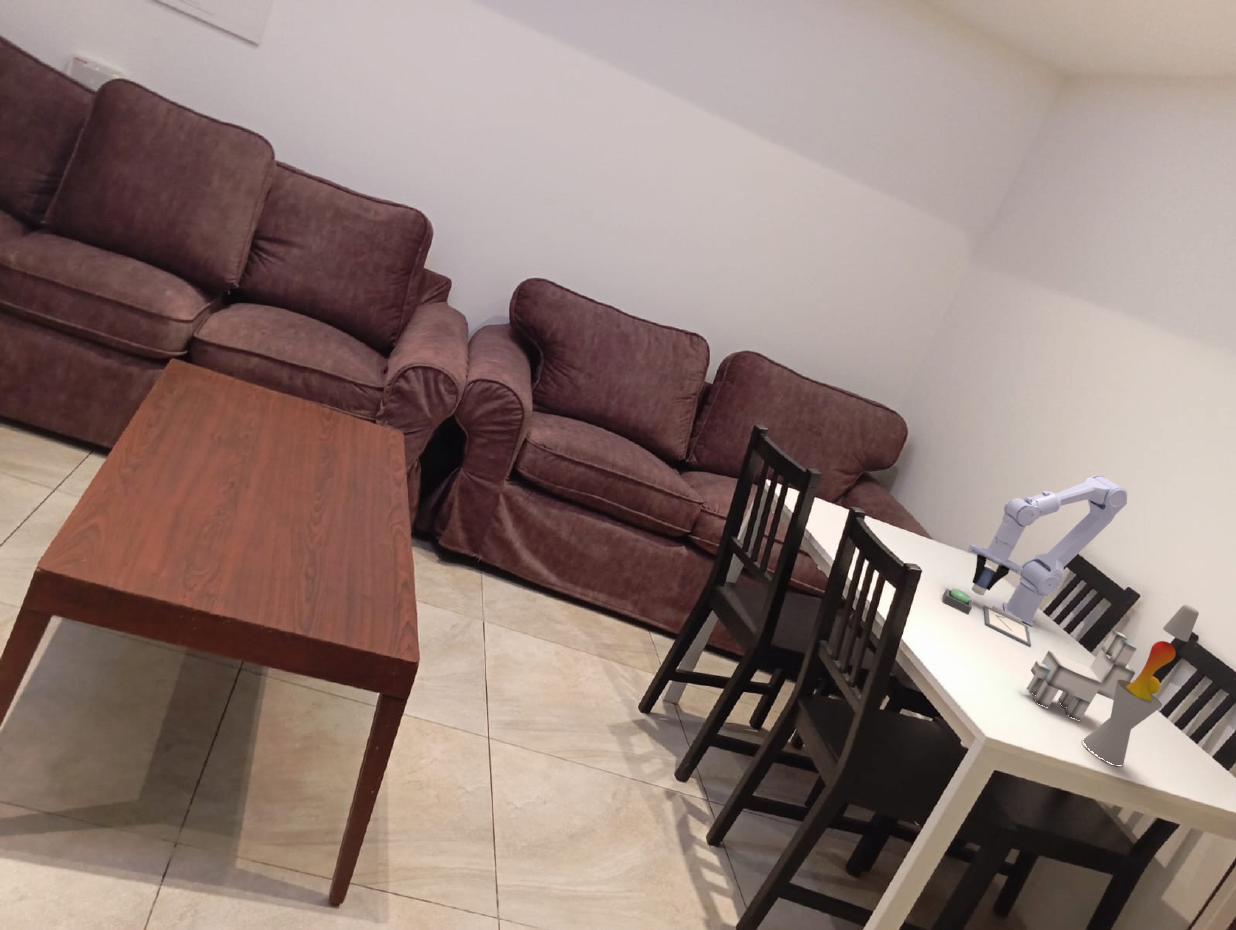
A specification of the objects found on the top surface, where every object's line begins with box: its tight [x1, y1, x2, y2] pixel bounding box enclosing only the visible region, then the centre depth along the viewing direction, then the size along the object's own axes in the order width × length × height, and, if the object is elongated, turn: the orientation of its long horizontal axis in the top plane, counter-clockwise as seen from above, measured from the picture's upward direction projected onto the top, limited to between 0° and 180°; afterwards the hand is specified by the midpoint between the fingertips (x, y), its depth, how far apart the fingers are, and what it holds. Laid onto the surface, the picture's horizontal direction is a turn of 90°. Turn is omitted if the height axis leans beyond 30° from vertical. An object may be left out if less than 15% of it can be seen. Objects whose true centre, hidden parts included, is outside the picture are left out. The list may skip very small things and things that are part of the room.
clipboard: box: [983, 605, 1032, 648], centre depth 268 cm, size 16×12×2 cm
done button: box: [949, 588, 971, 605], centre depth 268 cm, size 5×5×2 cm
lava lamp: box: [1082, 604, 1199, 766], centre depth 205 cm, size 9×9×35 cm
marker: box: [971, 565, 996, 596], centre depth 275 cm, size 3×3×7 cm
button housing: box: [942, 587, 973, 615], centre depth 269 cm, size 7×7×2 cm
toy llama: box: [1026, 629, 1137, 721], centre depth 223 cm, size 8×18×20 cm, turn 85°
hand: (980, 585), depth 276 cm, fingers closed on marker, 3 cm apart
